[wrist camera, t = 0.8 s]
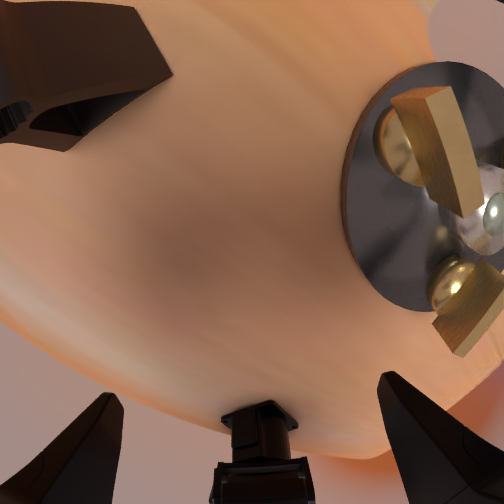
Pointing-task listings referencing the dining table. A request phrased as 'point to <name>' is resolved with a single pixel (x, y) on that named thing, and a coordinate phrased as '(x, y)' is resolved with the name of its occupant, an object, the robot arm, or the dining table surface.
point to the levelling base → (406, 207)
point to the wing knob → (464, 300)
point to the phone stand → (70, 69)
